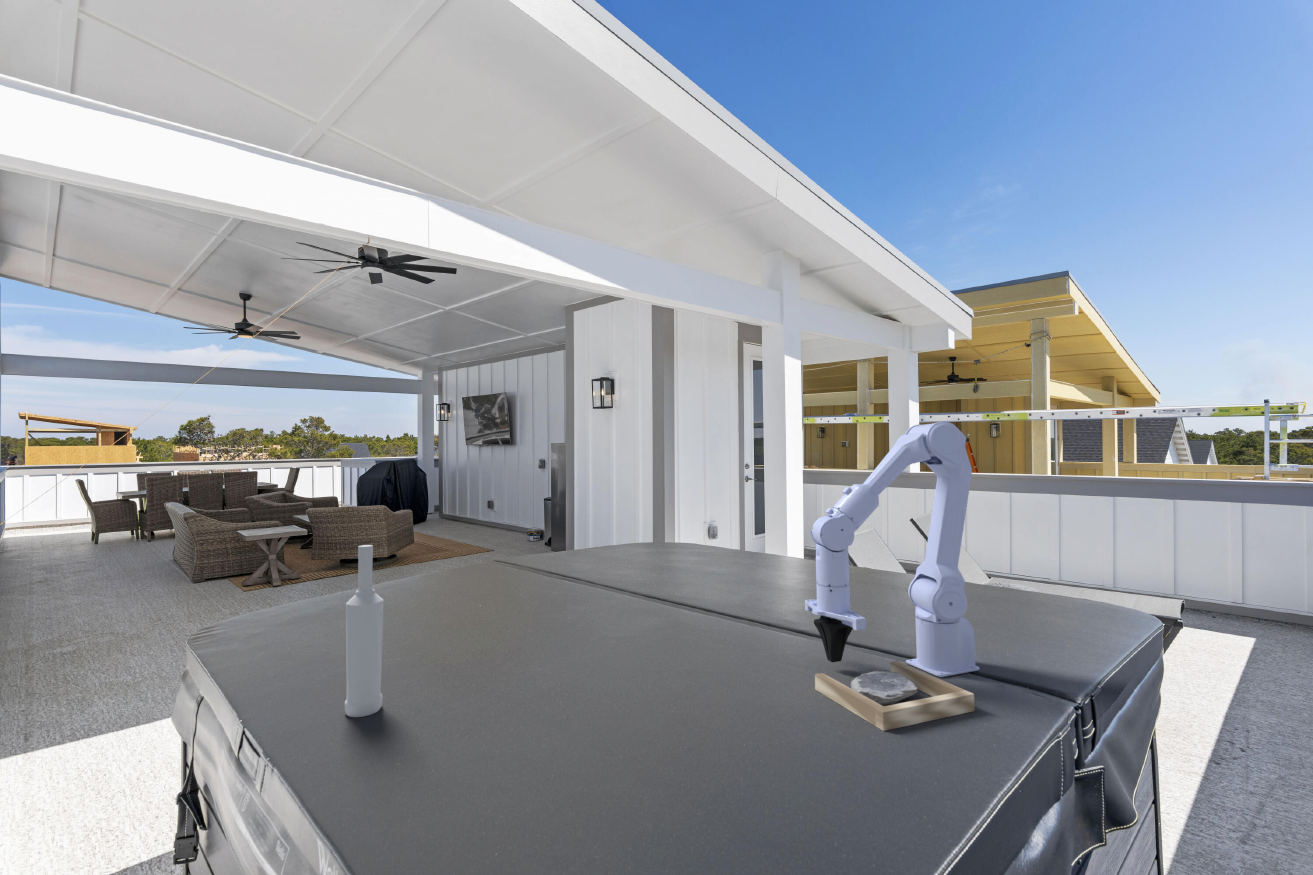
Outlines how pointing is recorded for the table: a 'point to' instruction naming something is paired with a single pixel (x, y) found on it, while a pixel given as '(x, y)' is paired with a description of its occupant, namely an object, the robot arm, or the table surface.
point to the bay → (939, 706)
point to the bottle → (364, 642)
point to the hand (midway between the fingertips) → (834, 660)
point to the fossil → (884, 687)
